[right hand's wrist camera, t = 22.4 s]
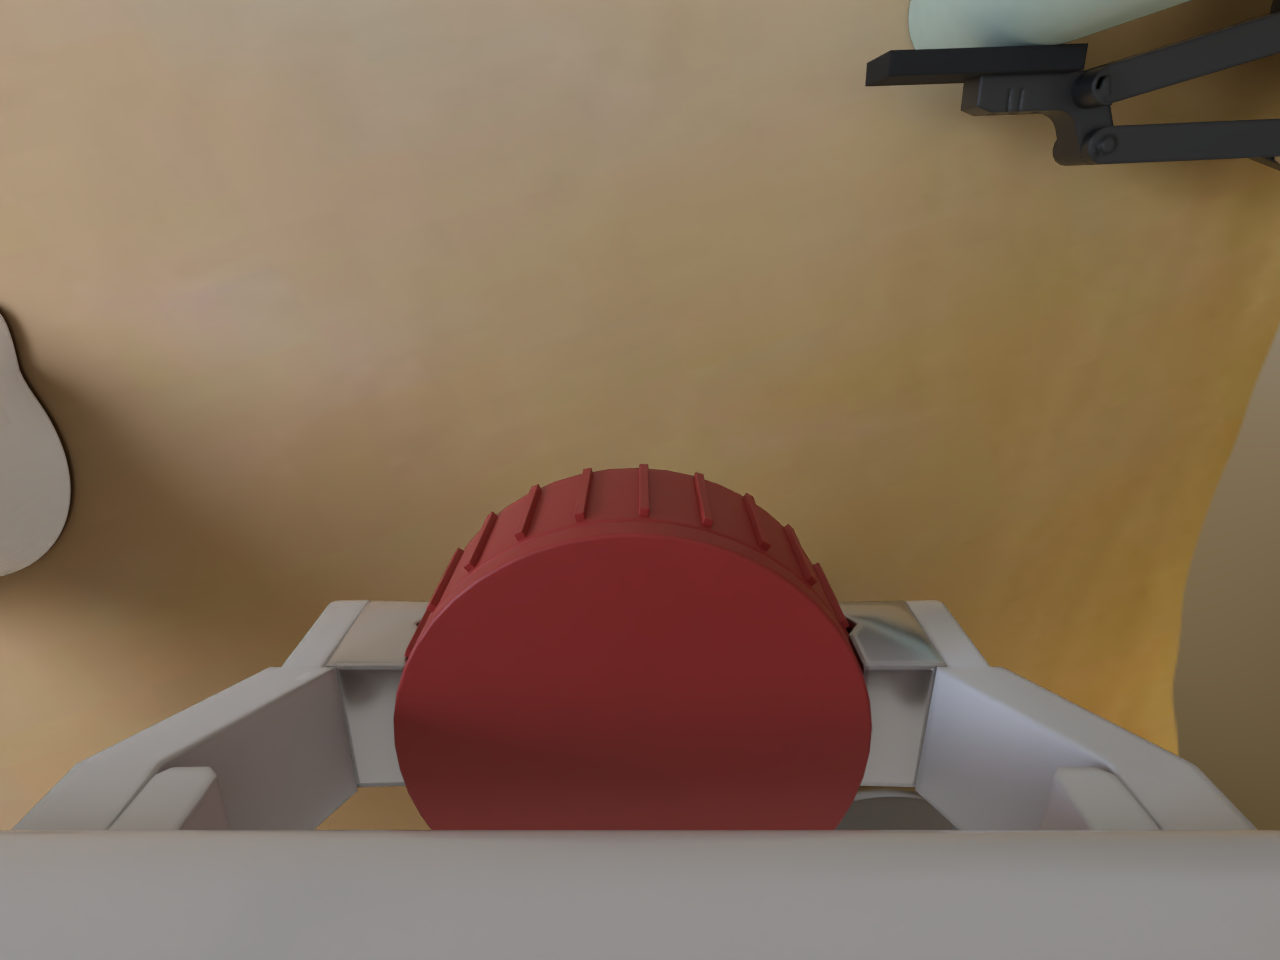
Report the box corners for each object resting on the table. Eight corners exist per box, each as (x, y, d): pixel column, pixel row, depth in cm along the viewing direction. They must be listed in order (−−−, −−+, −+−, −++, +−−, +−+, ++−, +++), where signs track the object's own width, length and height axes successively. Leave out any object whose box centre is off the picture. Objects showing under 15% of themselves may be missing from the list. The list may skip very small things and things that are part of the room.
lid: (661, 861, 12) (666, 985, 10) (354, 676, 10) (293, 779, 9) (921, 623, 10) (983, 720, 8) (595, 371, 9) (584, 419, 7)
